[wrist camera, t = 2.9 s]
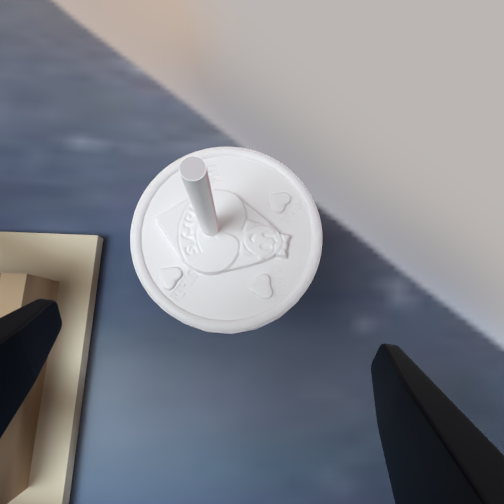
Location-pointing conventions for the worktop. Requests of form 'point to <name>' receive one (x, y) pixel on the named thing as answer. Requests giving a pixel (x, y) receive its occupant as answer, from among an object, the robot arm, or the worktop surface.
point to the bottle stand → (48, 361)
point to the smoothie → (226, 239)
